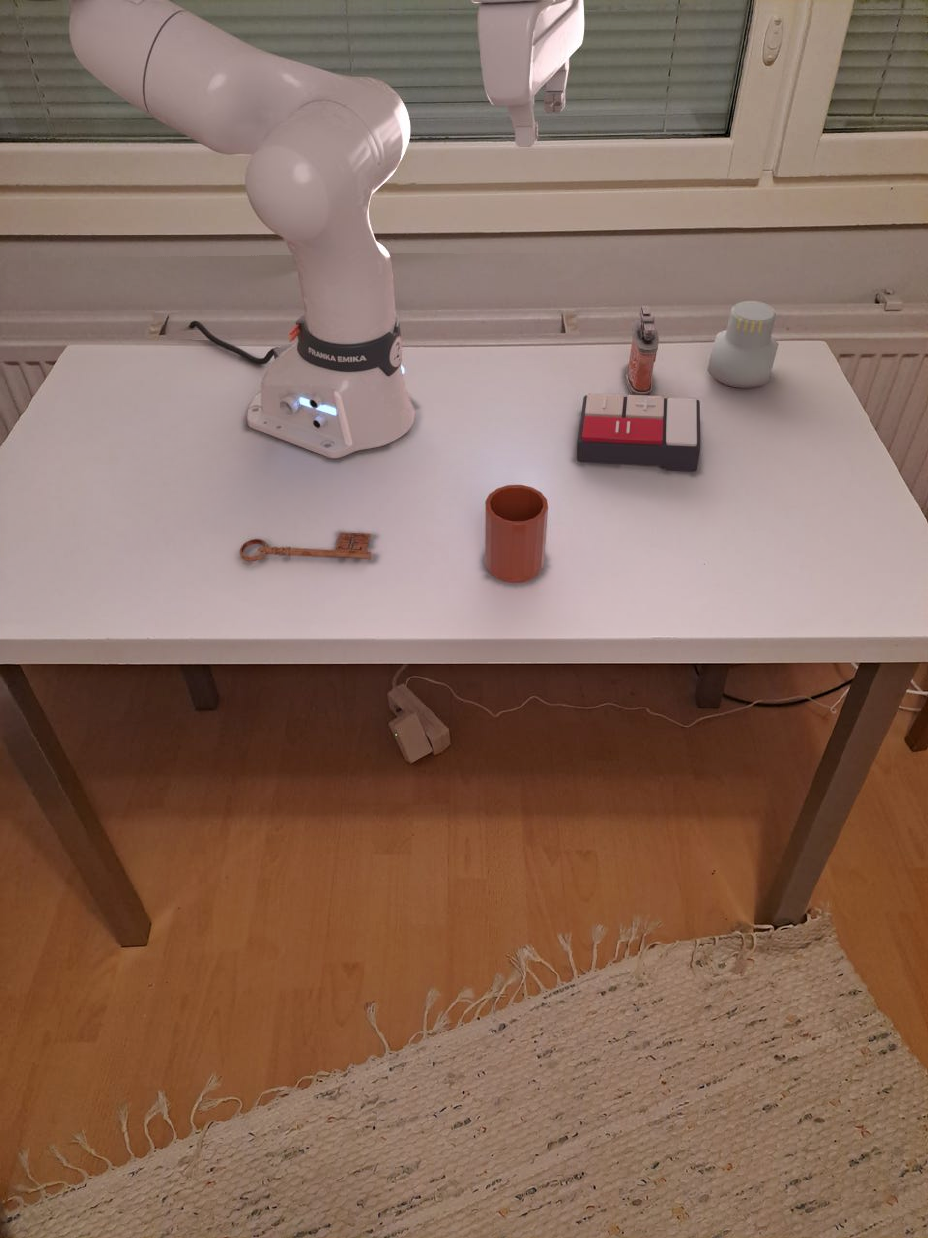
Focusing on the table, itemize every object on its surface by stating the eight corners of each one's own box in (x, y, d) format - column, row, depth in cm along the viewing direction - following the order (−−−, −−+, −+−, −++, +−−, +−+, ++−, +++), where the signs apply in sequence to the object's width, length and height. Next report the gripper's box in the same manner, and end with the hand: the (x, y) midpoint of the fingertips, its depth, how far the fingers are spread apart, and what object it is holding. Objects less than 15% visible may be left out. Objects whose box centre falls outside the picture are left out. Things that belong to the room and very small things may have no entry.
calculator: (584, 389, 120) (700, 393, 118) (583, 417, 124) (696, 421, 121) (577, 437, 113) (701, 443, 111) (576, 466, 116) (697, 472, 114)
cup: (476, 574, 102) (476, 516, 96) (496, 537, 106) (497, 479, 100) (533, 588, 100) (537, 530, 94) (550, 550, 104) (555, 491, 98)
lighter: (654, 398, 125) (665, 331, 118) (629, 398, 125) (638, 331, 118) (646, 366, 131) (656, 300, 124) (623, 366, 131) (631, 301, 124)
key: (375, 538, 107) (249, 532, 107) (375, 531, 106) (248, 525, 107) (368, 569, 102) (236, 562, 103) (367, 563, 102) (235, 556, 102)
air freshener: (762, 402, 124) (780, 335, 117) (701, 391, 126) (715, 324, 119) (773, 362, 131) (791, 296, 124) (716, 352, 133) (729, 286, 126)
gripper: (534, -68, 87) (541, 93, 97) (460, -17, 74) (476, 164, 83) (599, -73, 85) (599, 92, 95) (535, -20, 72) (543, 165, 81)
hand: (541, 127), depth 89 cm, fingers open, 8 cm apart
